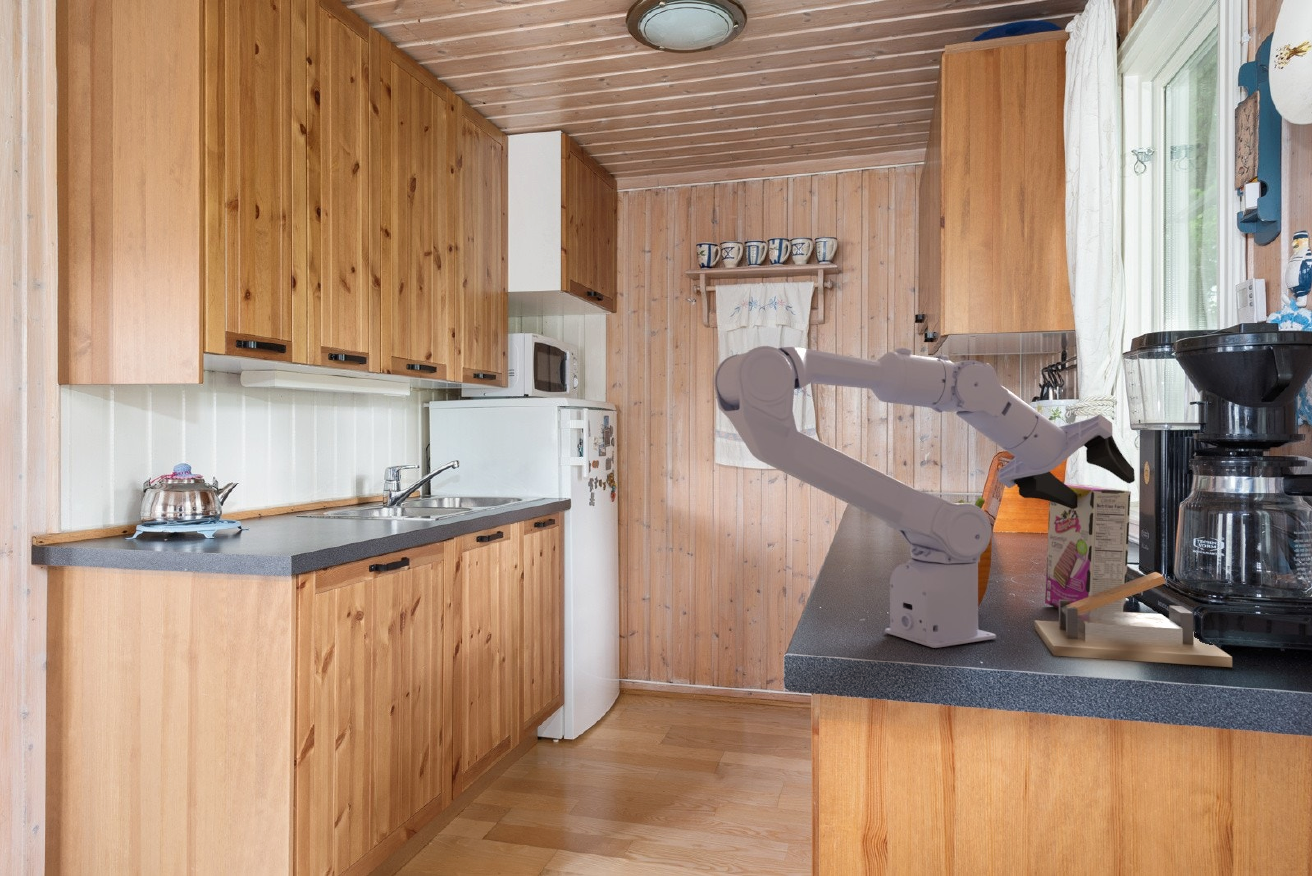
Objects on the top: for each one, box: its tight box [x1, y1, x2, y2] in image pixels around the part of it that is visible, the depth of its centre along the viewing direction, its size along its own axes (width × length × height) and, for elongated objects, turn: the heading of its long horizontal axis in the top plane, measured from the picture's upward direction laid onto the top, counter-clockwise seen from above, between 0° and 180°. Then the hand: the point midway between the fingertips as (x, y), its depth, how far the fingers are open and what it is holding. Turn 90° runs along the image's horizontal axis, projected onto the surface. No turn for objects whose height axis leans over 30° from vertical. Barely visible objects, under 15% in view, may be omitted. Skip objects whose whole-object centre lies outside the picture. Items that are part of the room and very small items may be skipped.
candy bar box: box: [1044, 482, 1132, 612], centre depth 101 cm, size 11×5×16 cm, turn 179°
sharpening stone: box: [1058, 599, 1195, 648], centre depth 86 cm, size 12×7×3 cm, turn 73°
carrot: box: [958, 497, 993, 608], centre depth 104 cm, size 5×5×15 cm
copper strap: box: [1061, 571, 1167, 615], centre depth 87 cm, size 10×2×1 cm, turn 73°
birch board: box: [1034, 619, 1233, 668], centre depth 86 cm, size 16×12×1 cm
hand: (1102, 489), depth 96 cm, fingers open, 7 cm apart
